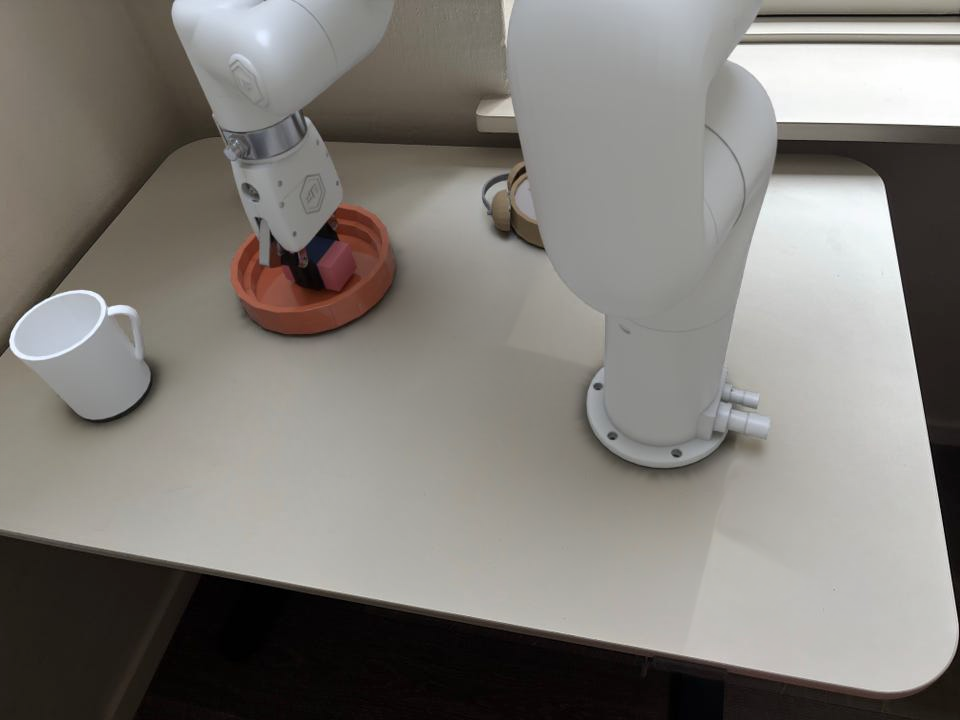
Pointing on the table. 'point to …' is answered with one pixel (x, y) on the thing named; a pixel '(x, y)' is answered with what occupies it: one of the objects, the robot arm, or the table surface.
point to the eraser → (329, 262)
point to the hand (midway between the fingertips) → (321, 270)
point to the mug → (85, 353)
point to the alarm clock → (514, 205)
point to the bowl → (326, 309)
